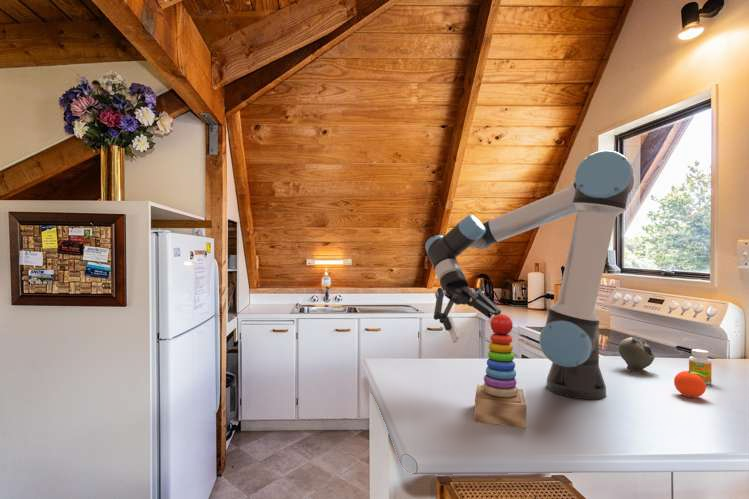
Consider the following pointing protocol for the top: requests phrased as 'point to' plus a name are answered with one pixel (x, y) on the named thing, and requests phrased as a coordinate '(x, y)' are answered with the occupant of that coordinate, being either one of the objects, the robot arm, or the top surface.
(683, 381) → the clementine
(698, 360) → the supplement bottle
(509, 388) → the stacking toy
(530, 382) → the top surface
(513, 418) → the wooden block
